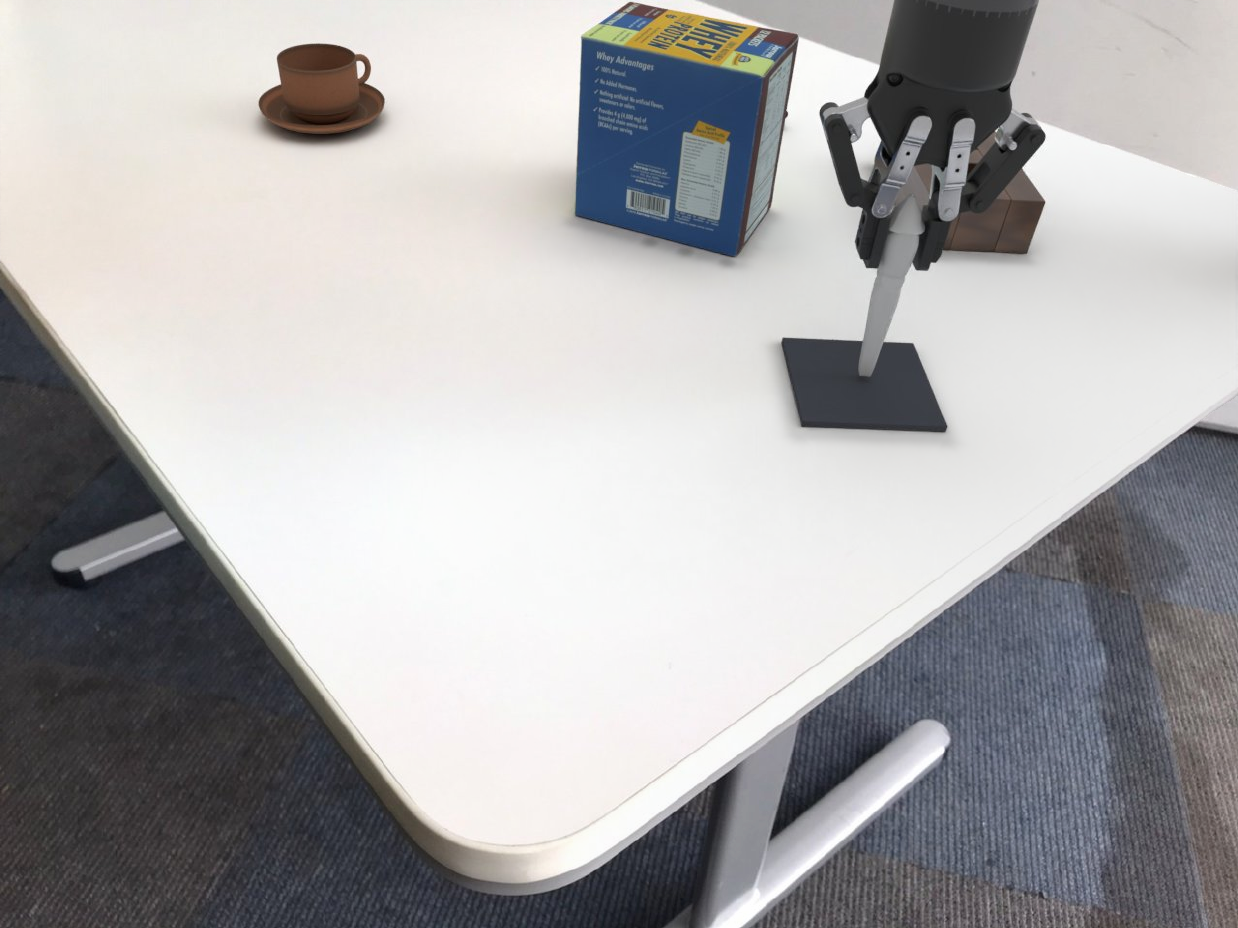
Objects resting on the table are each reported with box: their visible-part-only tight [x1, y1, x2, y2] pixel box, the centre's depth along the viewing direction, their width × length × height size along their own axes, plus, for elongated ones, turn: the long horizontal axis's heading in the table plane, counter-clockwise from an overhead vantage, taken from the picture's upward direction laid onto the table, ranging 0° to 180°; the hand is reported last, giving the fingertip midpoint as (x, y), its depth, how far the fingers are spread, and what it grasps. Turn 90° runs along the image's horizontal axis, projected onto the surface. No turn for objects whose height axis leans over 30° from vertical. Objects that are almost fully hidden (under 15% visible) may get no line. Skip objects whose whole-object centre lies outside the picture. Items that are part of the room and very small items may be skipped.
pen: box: [858, 193, 925, 377], centre depth 68 cm, size 2×3×14 cm
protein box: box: [573, 1, 800, 257], centre depth 86 cm, size 10×15×16 cm
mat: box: [781, 337, 948, 433], centre depth 73 cm, size 10×10×1 cm
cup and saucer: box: [258, 43, 386, 135], centre depth 99 cm, size 12×12×6 cm
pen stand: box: [894, 130, 1046, 254], centre depth 94 cm, size 10×17×5 cm, turn 1°
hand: (894, 262), depth 67 cm, fingers closed on pen, 2 cm apart
